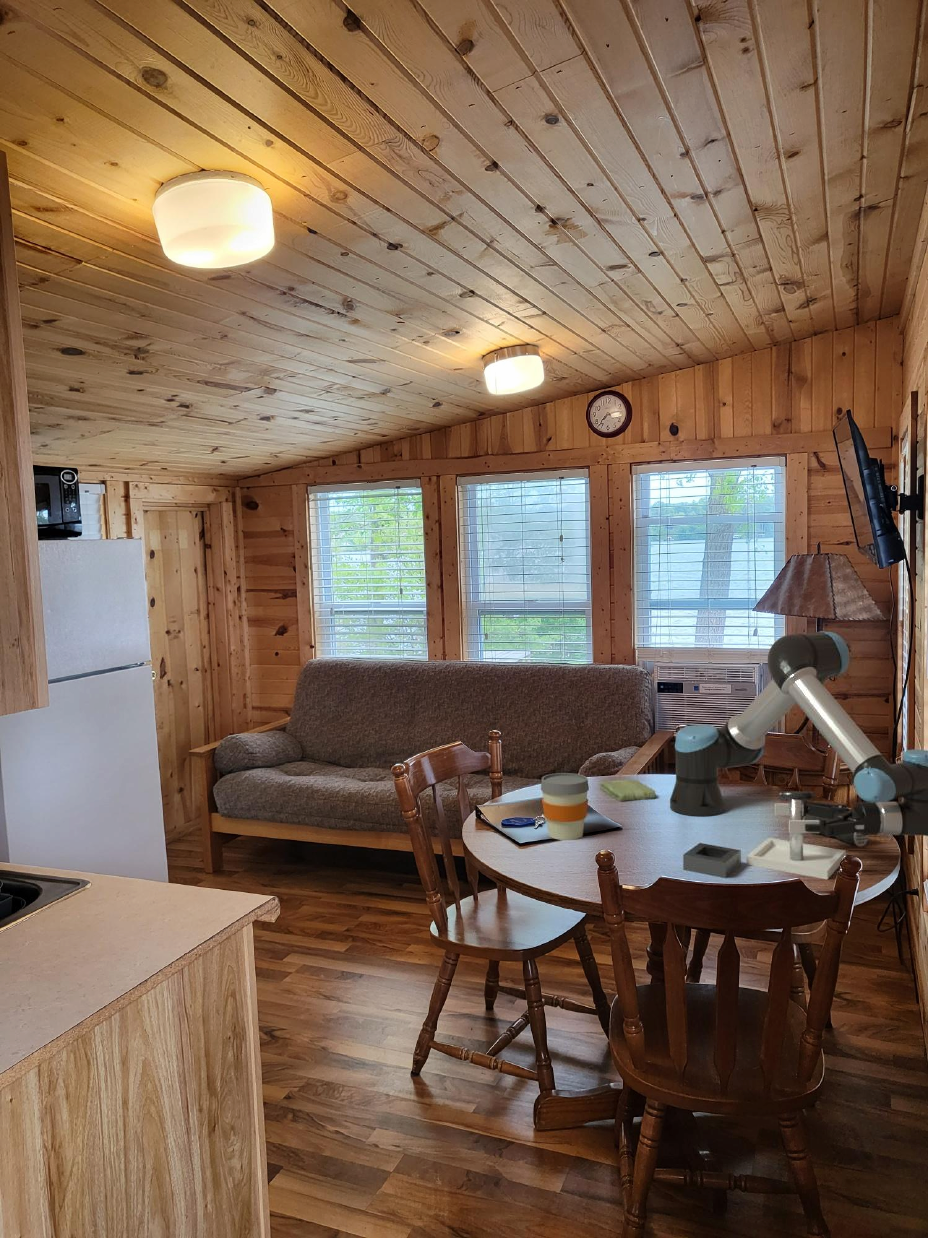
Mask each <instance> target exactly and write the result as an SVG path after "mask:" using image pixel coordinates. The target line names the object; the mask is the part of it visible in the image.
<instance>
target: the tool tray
mask: <svg viewBox="0 0 928 1238" xmlns="http://www.w3.org/2000/svg"><path fill="white" fill-rule="evenodd" d="M846 852H847V851H846V850H845V849H840V848H834V847H827V846H821V845H814V844H808V843H804V842H803V861H793V860H791V859H790V840H786V839H785V840H783V839H778V838H773V837H768V838H766V839H765V840H764V841H763V842H762V843H760V844H759V845H758V846H756V848H755V849H754V850H752V851H751V852H749V854H747V855H746V865H748V866H754V867H759V868H764V869H769V870H775V871H778V872H779V871H780V872H786V873H792V874H796V875H800V876H801V875H802V876H806V877H811V878H816V879H822V880H823V879H824V880H828V879H829V878H830V877H831V876H832V875H833V874H834V873H835V871H837V869H838V868H839V867H840V866H841V865H840V862H841V860H842V858H843V857H844V856H846V854H847V853H846Z"/></svg>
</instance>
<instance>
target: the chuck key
mask: <svg viewBox="0 0 928 1238" xmlns="http://www.w3.org/2000/svg"><path fill="white" fill-rule="evenodd" d="M815 796H816V795H815V793H814V792H813V791H795V790H794V791H792V790H791V791H783V790H782V791H779V792H778V793H777V797H778V799H780V800H789V801H788V802H789V803H788V804H789V815H788V816H789V817H788V818H789V820H804V817H803V801H804V800H813V799H814V798H815ZM789 820H788V821H789ZM789 841H790V859H791V860H793V861H803V843H804V833H789Z"/></svg>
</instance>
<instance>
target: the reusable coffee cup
mask: <svg viewBox="0 0 928 1238" xmlns="http://www.w3.org/2000/svg"><path fill="white" fill-rule="evenodd" d="M540 781H541V785H540V791H541V792H542V799H541V801H542V803H541V804H542V809H543V810H542V811H543V815H544V816H543V817H544V818H545V820H546V825H547V834H548V836H549V837H550V838H552V839H554V840H555V839H556V840H561V841H573V840H577V839H580V838H582V837H583V836H584V829H585V828H584V826H585V819H586V818H587V815H588V813H587V812H588V807H589V805H588V803H589V799H588V791H589V780H588V776H586V775H583V774H579V773H574V772H573V773H571V772H570V773H569V772H559V773H557V772H555V773H550V774H546V775H544V776H542V777H541V780H540Z"/></svg>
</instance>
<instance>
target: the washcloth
mask: <svg viewBox="0 0 928 1238" xmlns="http://www.w3.org/2000/svg"><path fill="white" fill-rule="evenodd" d="M599 785H600V786H599V790H601V791H602V792H604V793H606V794H607V795H609V796H610V797H612V798H613V799H615V800H616V801H618V802H627V801H635V800H637V801H638V800H643V801H644V800H653V799H656V796H657V794H656V791H655V789H653V788H652V787H649V786H648V785H646V784H644V783H642V782H640V781H639V780H635V779H634V780H633V779H631V780H630V779H626V780H625V779H623V780H621V779H620V780H619V779H618V780H617V779H616V780H612V781H606V780H603V781H601V782H600V784H599Z"/></svg>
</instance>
